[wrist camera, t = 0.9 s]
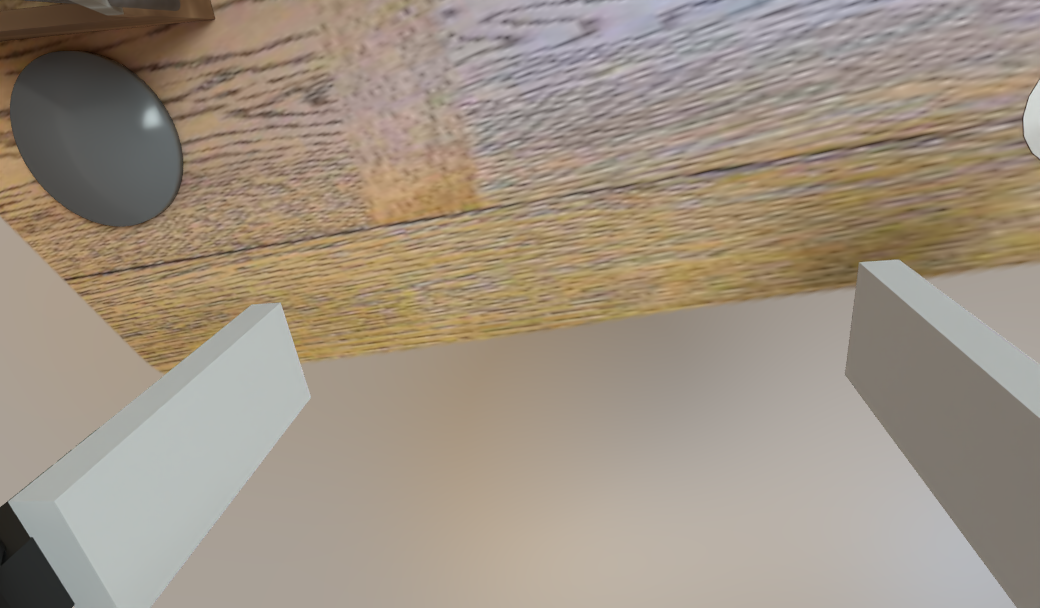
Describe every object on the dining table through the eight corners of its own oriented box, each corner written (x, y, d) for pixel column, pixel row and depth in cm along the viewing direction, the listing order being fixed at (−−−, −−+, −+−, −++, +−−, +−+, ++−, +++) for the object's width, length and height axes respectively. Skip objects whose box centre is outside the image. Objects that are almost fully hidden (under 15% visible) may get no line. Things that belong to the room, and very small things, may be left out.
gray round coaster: (-9, 58, 40) (-20, 58, 39) (149, 43, 38) (141, 43, 38) (61, 227, 45) (52, 230, 44) (204, 219, 43) (197, 222, 42)
